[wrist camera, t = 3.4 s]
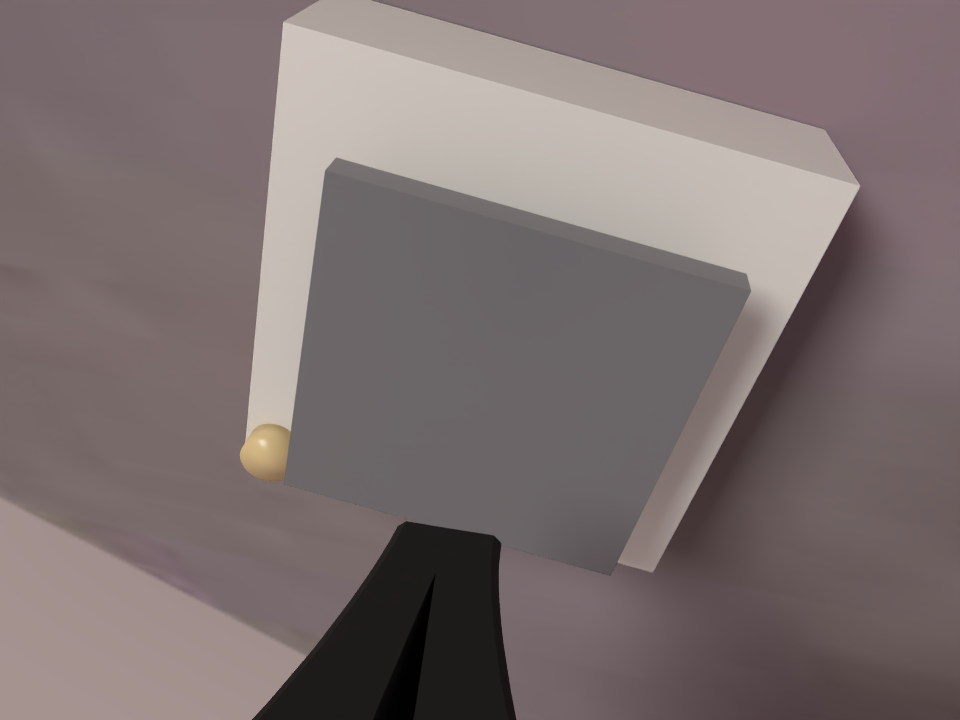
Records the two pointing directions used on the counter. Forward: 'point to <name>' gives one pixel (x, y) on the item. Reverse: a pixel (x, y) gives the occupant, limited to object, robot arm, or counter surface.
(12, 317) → the counter surface
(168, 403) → the counter surface
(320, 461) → the switch
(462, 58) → the box
